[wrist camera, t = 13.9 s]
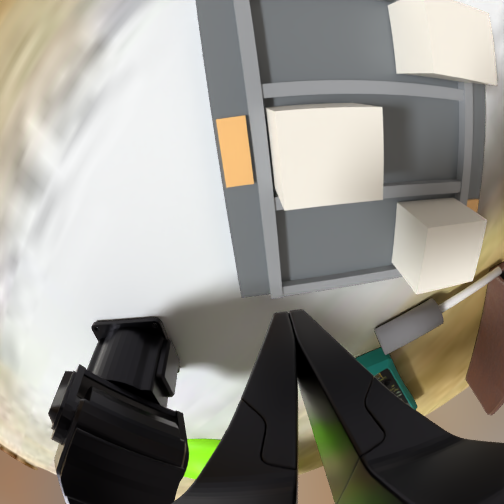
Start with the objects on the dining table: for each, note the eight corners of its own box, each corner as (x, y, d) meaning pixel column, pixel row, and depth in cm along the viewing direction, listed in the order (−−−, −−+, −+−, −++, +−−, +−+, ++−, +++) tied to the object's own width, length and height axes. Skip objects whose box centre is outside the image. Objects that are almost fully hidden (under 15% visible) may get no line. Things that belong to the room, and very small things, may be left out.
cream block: (274, 185, 18) (284, 210, 14) (265, 107, 16) (274, 111, 12) (355, 177, 18) (382, 199, 14) (351, 102, 16) (382, 107, 12)
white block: (391, 262, 21) (416, 294, 17) (396, 202, 19) (428, 227, 15) (444, 252, 21) (472, 281, 17) (453, 197, 19) (487, 220, 15)
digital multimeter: (381, 338, 27) (391, 360, 25) (412, 395, 34) (420, 412, 31) (316, 373, 29) (322, 396, 27) (364, 420, 35) (369, 438, 33)
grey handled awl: (372, 324, 25) (376, 337, 27) (383, 347, 23) (386, 359, 25) (493, 252, 23) (490, 269, 24) (508, 270, 21) (504, 287, 22)
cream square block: (396, 73, 15) (433, 73, 11) (387, 5, 12) (421, -9, 9) (457, 81, 15) (497, 86, 11) (450, 19, 12) (488, 13, 9)
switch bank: (241, 287, 23) (241, 303, 21) (196, -4, 13) (192, -13, 11) (460, 253, 23) (472, 264, 21) (466, 15, 13) (482, 13, 11)
